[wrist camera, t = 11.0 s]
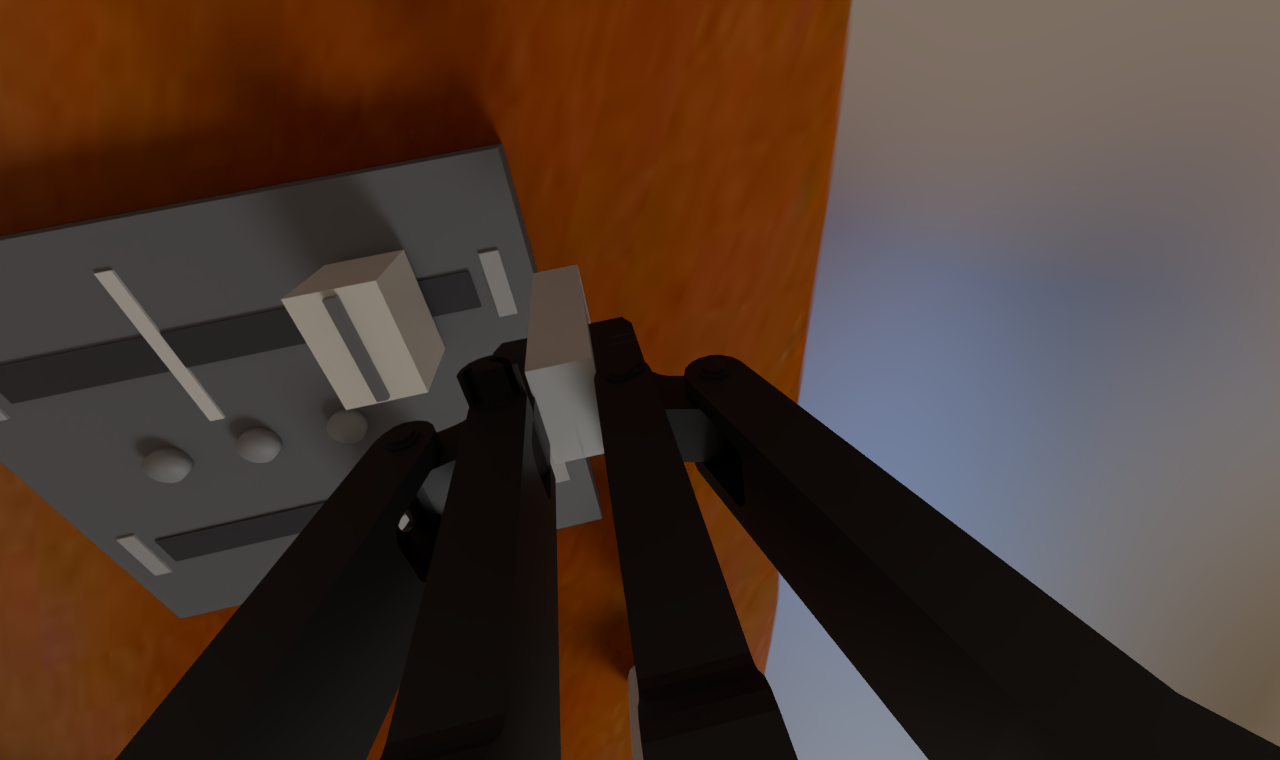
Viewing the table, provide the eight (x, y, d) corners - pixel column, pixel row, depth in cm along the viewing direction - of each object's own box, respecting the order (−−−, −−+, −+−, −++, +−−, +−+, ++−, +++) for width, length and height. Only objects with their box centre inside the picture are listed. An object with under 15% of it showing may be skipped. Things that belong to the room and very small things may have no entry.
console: (202, 587, 28) (173, 628, 26) (-138, 261, 18) (-233, 285, 16) (599, 494, 30) (603, 526, 28) (502, 142, 19) (496, 149, 17)
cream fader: (375, 363, 21) (343, 414, 17) (324, 265, 18) (276, 303, 15) (445, 348, 21) (426, 396, 18) (403, 249, 19) (372, 283, 15)
